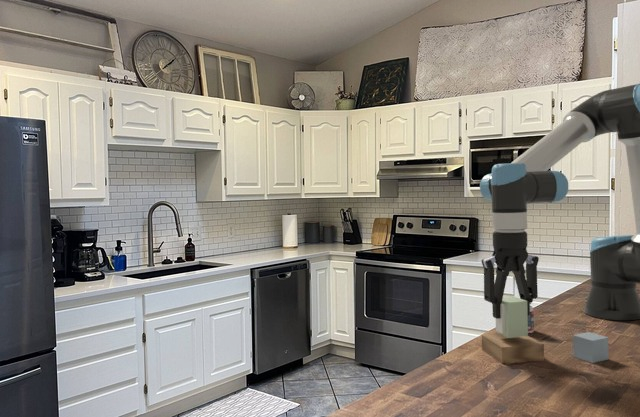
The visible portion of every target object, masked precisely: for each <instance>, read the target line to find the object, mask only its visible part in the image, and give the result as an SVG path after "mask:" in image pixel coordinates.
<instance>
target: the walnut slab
mask: <svg viewBox="0 0 640 417" xmlns="http://www.w3.org/2000/svg"><path fill="white" fill-rule="evenodd" d="M481 350H482V351H483V352H484V353H485V354H487V355H489V356H490V357H491V358H493V359H494V360H496V361H497V362H499V363H500V362H501V363H500V364H502V363H506V364H514V363H515V362H517V363H527V361H529V362H538V361H545V344H544V343H543V342H541V341H539V340H538V339H537V340H536V339H535V338H533V337H531V336H529V335H528V336H520V337H512V338H508V337H505V336H503V335H501V334H499V333H494V334H493V333H492V334H481Z"/></svg>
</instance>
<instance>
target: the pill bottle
mask: <svg viewBox="0 0 640 417" xmlns="http://www.w3.org/2000/svg"><path fill="white" fill-rule="evenodd" d="M516 297H517V298H520V296H516ZM531 305H532V303H530V314H529V315H527V316H528V334H532V333H534V332H535V318H534V315H535V314H534V312H535V311H534V307H533V306H531Z"/></svg>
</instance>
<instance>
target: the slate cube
mask: <svg viewBox="0 0 640 417" xmlns="http://www.w3.org/2000/svg"><path fill="white" fill-rule="evenodd" d="M572 342H573V343H572V350H573V351H572V355H573V357H574V358H577V359H579V360H583V361H586V362H588V363H591V364H595V363H599V362H602V361H606V360H607V361H608V360H609V337H607V336H604V335H601V334H599V333H598V334H597V333H593V332H590V331H587V332H583V333H577V334H573V335H572Z"/></svg>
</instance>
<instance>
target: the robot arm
mask: <svg viewBox="0 0 640 417" xmlns="http://www.w3.org/2000/svg"><path fill="white" fill-rule="evenodd" d="M611 133H617V139H618V141H619V142H621V143H622V144H623V145H625V150H626V158H627V166H628V175H629V183H630V189H631V190H630V192H631V197H632V198H631V199H632V207H633V213H634V220H635V230H636V231H635V233H634V234H628V235H627V234H625V235H612V236H601V237H595V238H593V239H592V240H591V241H590V251H589V257H590V259H589V260H590V263H589V264H590V289H589V291H588V296H587V298H586V302H585V303H584V313H585V314H586V315H588V316H591V317H592V318H593V317H595V318H598V319H603V320H604V319H605V320H612V321H613V320H614V321H634V320H640V296H639V293H638V291H637V284H640V83H636V84H632V85H627V86H622V87H617V88H613V89H612V88H611V89H607V90H603V91H600V92H598V93H596V94H595V95H592V96H591V97H589V98H587V99H586V100H584V101H583V102H581V103H579V105H576V106H575V107H574V108H572V110H570V111H569V112H568V113H566V115H565V116H564V117H563V119H562V122H561V123H559V125H557V126H556V127H555V128H554V129H552V130H551V131H550V132H549V133H547V134H546V135H544V136H543V137H542V138H541V139H539V140H538V141H537V142H536V143H535V144H533V145H532V146H531V147H529V148H528V149H527V150H525V151H524V152H523V153H522V154H520V155H519V156H518V157H516V158H515V159H514V160H513V161H511V163H509V162H508V163H497V164H494V165H493V166H492V168H491V173H488V174H486V175H483V177H482V178H481V180H480V183H479V191H480V193H481V196H482V198H484V199H485V200H486V201H487V202H488V201H489V202H491V212H492V229H493V230H494V231H493V232H492V247H493V252H492V255H491V256H490V257H488V258H482V259H481V264H482V267H483V300H484V301H486V302H488V303H491V305H492V306H491V307H492V316H493V318H494V319H495V332H496V331H498V332H500V333H502V334H503V333H505V305H503V304H501V303H502V299H503V298H504V294H505V288H506V284H507V278H508V276H509V275H510V272H512V274H513V276H514V280H515V283H516V286H517V292H518V295H519V296H518V297H520V299H523V300H526V301H527V315H529V314H530V306H531V304H532V303H533V302H534V300H535V299H537V298H538V297H539V296H538V294H539V292H538V291H539V290H538V264H539V261H540V260H539V259H540V258H539V256H537V255H533V254H529V253H528V250H527V248H528V232H527V231H525V230H527V229H528V214H527V213H528V212H527V211H528V209H527V208H528V204H544V203H547V204H548V203H549V204H552V203H557V202H560V201H562V200H564V199H565V197H566V196H567V194H568V192H569V180H568V178H567V177H566V175H565V174H564V173H562V172H561V171H559V170H558V171H557V170H549V169H551V168H553V166H555V165H556V164H557V163H558V162H560V161H561V160H562V159H563V158H564V157H565V156H567V155H568V154H569V153H571V152H572V151H573V150H574V149H576V148H577V147H578V146H580V144H583V143H588V142H590V141H592V140H593V139H594V138H595V137H598V136H601V135H604V134H611ZM495 265H496V266H495ZM494 267H496V270H495V268H494ZM495 274H496V276H495ZM530 303H531V304H530Z"/></svg>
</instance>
